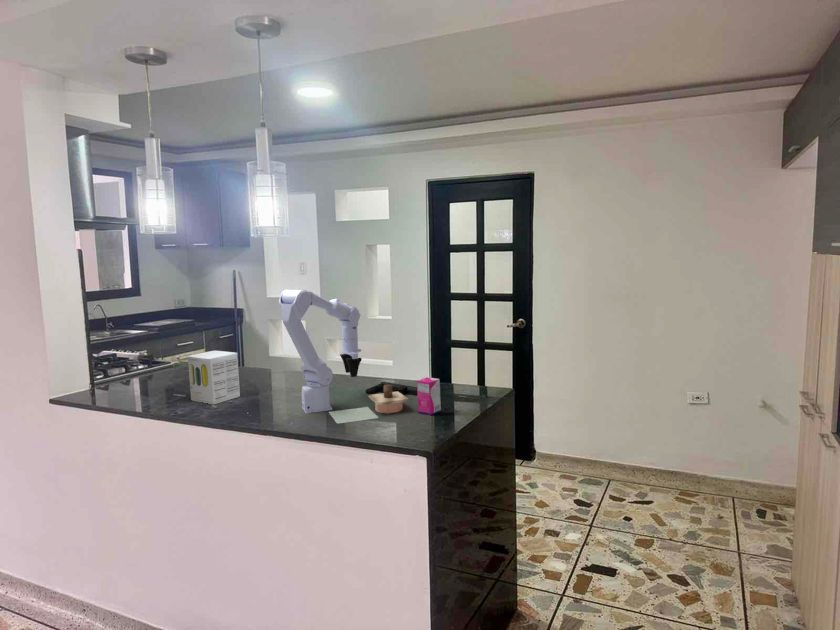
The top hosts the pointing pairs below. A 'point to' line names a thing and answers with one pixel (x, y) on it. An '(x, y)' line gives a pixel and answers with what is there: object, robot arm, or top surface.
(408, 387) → the door handle
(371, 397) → the lid
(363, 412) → the mat
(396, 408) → the bowl
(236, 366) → the supplement box
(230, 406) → the top surface
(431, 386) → the supplement box
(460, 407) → the top surface
